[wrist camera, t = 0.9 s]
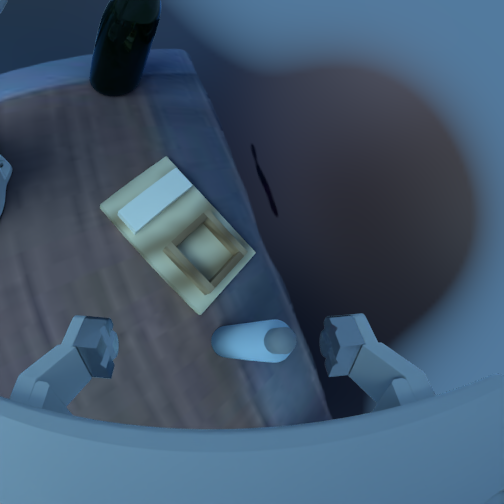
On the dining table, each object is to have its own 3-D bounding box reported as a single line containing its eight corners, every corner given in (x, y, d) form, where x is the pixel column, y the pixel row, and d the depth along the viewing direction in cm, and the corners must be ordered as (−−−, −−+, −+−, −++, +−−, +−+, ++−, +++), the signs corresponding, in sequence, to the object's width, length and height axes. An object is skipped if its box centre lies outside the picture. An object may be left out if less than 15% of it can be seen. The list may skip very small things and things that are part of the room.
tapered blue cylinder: (204, 342, 44) (256, 343, 30) (225, 318, 46) (282, 308, 33) (228, 364, 45) (287, 372, 31) (247, 340, 47) (310, 337, 34)
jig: (99, 208, 41) (100, 197, 38) (164, 159, 49) (170, 148, 45) (198, 314, 45) (207, 312, 42) (252, 254, 52) (263, 248, 49)
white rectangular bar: (117, 215, 41) (118, 211, 40) (173, 171, 47) (176, 167, 46) (134, 234, 42) (136, 231, 41) (189, 189, 48) (192, 185, 47)
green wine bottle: (78, 85, 44) (112, -73, 16) (109, 57, 48) (156, -81, 20) (121, 105, 47) (179, -58, 19) (149, 75, 51) (214, -64, 24)
